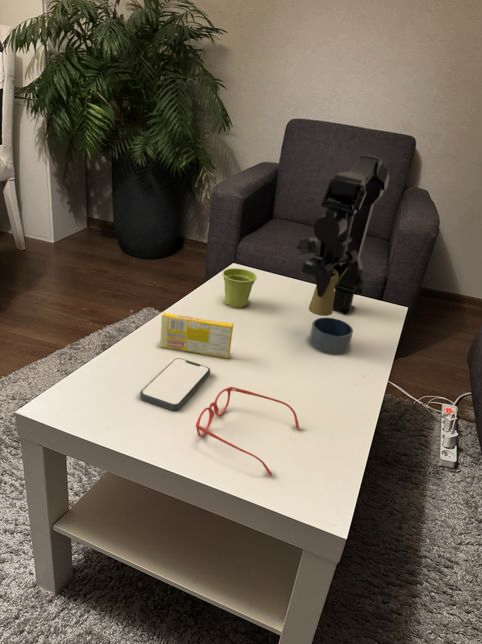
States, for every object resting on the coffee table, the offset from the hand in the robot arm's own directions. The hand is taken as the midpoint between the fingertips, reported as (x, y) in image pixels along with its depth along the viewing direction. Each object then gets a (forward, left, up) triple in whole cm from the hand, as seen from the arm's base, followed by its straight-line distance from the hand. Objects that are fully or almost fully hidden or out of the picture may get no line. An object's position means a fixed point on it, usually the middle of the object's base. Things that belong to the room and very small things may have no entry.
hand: (324, 293), depth 131 cm
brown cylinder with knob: (0, 0, -5) cm, 5 cm away
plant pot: (-3, -26, -13) cm, 29 cm away
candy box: (+26, -18, -13) cm, 35 cm away
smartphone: (+40, -12, -13) cm, 44 cm away
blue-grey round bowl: (-1, +4, -13) cm, 13 cm away
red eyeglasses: (+44, +8, -13) cm, 47 cm away
